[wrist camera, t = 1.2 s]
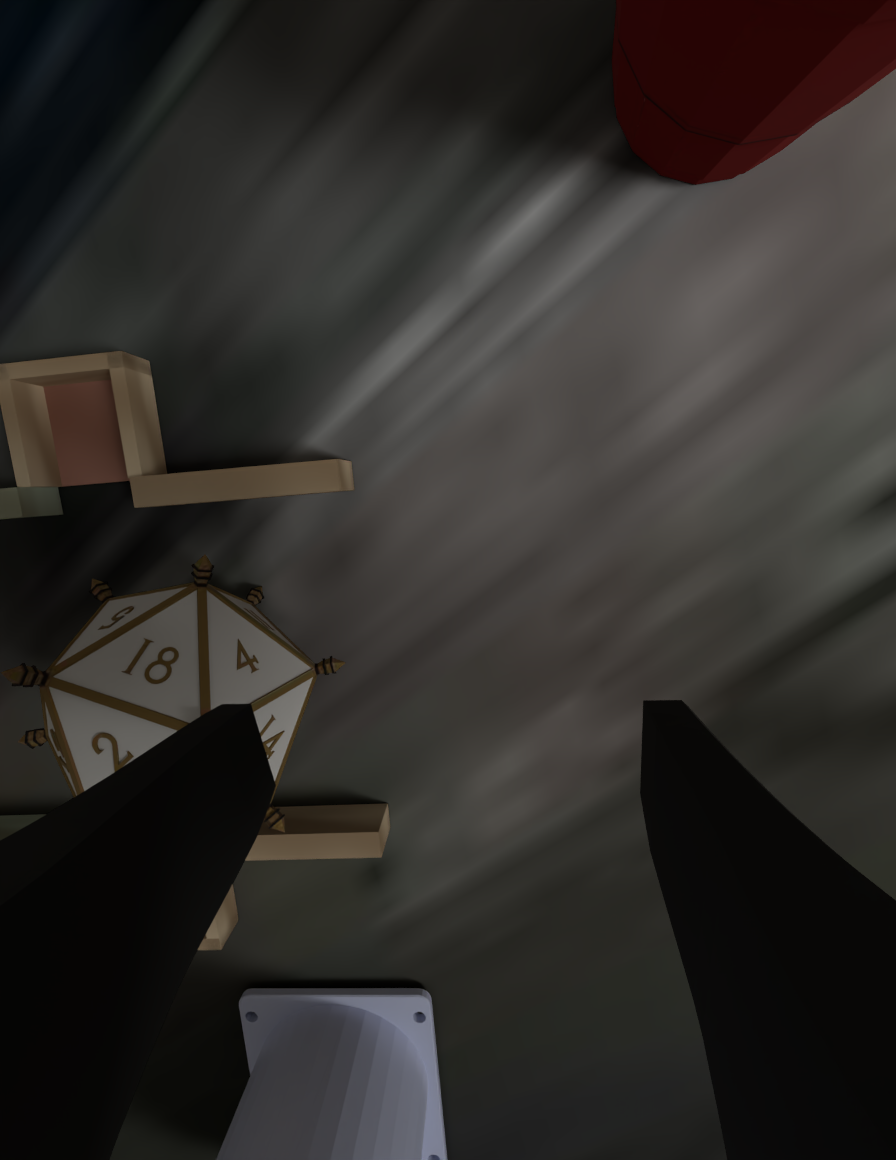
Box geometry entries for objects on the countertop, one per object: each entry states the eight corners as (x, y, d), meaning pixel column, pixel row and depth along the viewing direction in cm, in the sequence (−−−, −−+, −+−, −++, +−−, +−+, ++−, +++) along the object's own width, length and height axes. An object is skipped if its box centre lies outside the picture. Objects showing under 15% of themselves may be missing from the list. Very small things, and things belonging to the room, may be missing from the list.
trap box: (399, 917, 22) (386, 983, 19) (-97, 924, 24) (-179, 984, 21) (338, 340, 19) (309, 313, 16) (-238, 402, 21) (-359, 388, 18)
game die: (314, 609, 24) (428, 629, 16) (240, 805, 23) (323, 944, 14) (85, 526, 20) (73, 492, 11) (-24, 763, 18) (-133, 928, 10)
